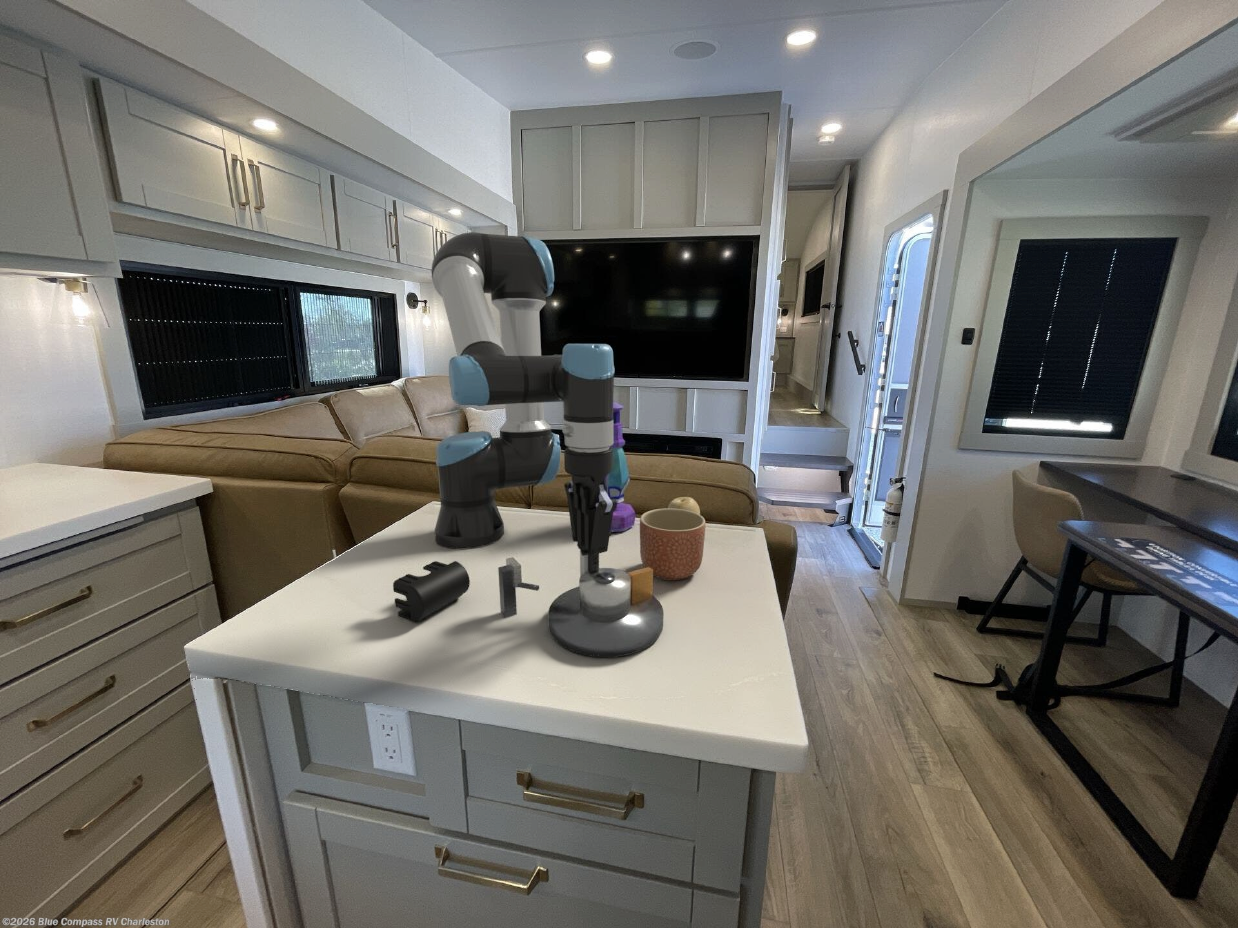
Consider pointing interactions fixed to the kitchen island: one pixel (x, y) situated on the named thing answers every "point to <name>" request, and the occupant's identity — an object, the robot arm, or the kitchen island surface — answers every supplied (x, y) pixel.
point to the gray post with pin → (511, 586)
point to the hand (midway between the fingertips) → (589, 586)
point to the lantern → (619, 478)
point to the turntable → (609, 636)
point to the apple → (685, 504)
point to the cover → (605, 595)
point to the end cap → (430, 589)
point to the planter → (672, 542)
